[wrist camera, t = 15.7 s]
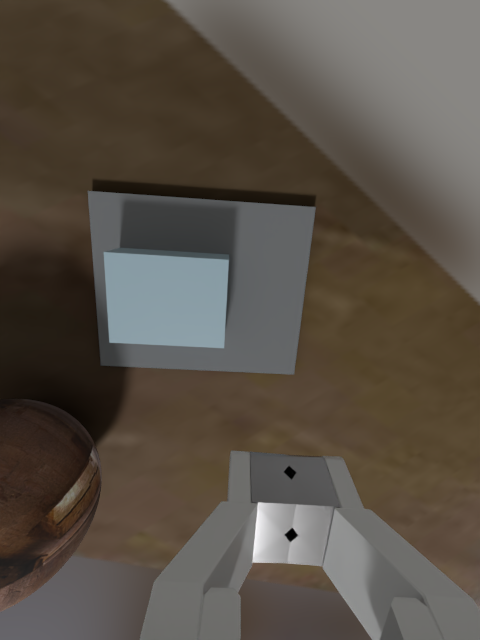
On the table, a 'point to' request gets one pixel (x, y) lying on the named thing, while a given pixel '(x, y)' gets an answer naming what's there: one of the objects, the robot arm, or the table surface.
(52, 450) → the wooden sphere
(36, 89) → the table surface
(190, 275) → the block
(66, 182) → the table surface
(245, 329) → the mat
